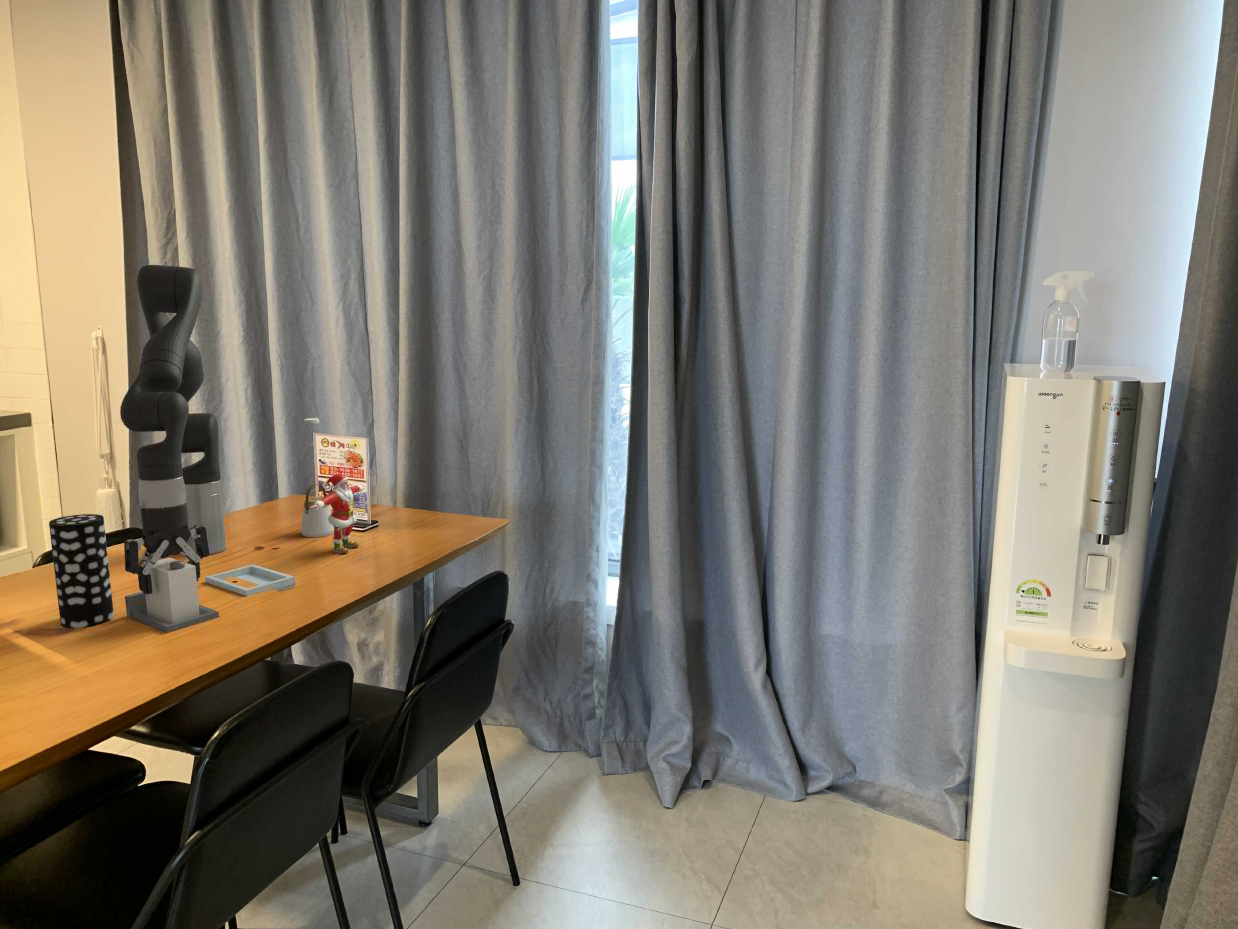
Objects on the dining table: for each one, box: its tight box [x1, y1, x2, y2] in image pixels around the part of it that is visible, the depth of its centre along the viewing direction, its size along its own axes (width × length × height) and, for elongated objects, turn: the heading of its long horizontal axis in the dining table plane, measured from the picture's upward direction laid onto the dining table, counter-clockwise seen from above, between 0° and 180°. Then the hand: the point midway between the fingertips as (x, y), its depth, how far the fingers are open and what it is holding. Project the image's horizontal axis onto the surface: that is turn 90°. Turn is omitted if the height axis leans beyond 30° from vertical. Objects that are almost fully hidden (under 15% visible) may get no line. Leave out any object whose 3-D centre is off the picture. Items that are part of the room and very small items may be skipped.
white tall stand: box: [300, 417, 334, 538], centre depth 217 cm, size 8×8×30 cm
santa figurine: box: [310, 473, 366, 555], centre depth 203 cm, size 25×6×19 cm, turn 169°
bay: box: [124, 591, 220, 634], centre depth 156 cm, size 14×10×5 cm
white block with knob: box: [145, 557, 200, 624], centre depth 156 cm, size 9×5×11 cm, turn 56°
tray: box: [204, 563, 296, 597], centre depth 177 cm, size 15×11×2 cm
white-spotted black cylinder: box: [48, 513, 115, 629], centre depth 153 cm, size 8×8×20 cm
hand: (171, 587), depth 156 cm, fingers open, 8 cm apart
